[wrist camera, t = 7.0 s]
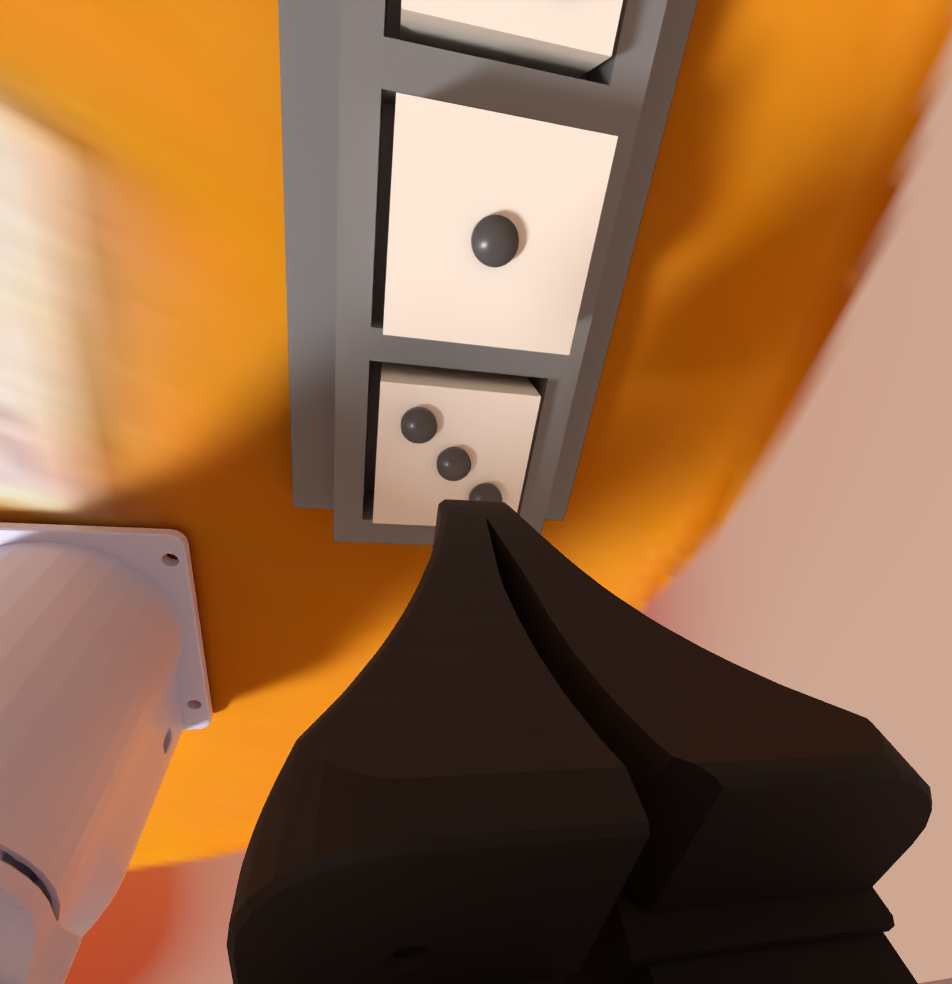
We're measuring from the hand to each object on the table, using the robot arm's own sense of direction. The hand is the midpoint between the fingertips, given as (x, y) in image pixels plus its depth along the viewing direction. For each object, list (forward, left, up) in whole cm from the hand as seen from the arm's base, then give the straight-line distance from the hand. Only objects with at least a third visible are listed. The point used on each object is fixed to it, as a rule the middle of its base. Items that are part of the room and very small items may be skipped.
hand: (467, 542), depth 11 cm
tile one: (+5, 0, -5) cm, 7 cm away
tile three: (0, 0, -6) cm, 6 cm away
